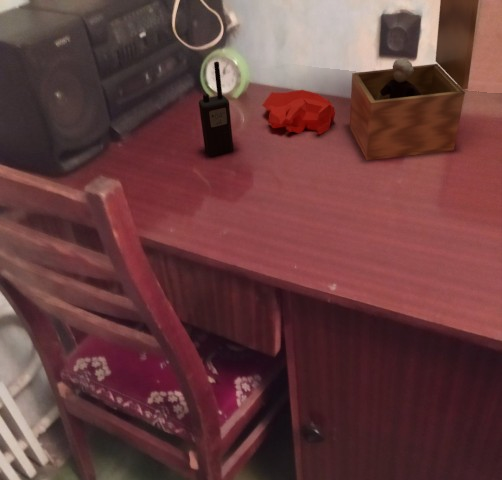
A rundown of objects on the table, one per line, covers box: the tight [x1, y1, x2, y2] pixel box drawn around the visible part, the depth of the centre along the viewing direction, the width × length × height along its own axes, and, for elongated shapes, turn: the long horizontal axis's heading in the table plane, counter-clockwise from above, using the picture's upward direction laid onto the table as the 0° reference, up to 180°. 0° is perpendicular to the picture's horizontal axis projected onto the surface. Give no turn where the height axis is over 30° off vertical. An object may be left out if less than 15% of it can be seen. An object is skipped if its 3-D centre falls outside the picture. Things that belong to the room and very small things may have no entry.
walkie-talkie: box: [198, 61, 235, 158], centre depth 97 cm, size 5×3×15 cm
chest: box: [349, 63, 465, 161], centre depth 98 cm, size 15×13×10 cm
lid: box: [435, 0, 480, 91], centre depth 89 cm, size 15×13×5 cm
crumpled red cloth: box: [262, 89, 336, 135], centre depth 107 cm, size 12×15×5 cm
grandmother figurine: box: [377, 57, 421, 100], centre depth 96 cm, size 8×4×13 cm, turn 73°
